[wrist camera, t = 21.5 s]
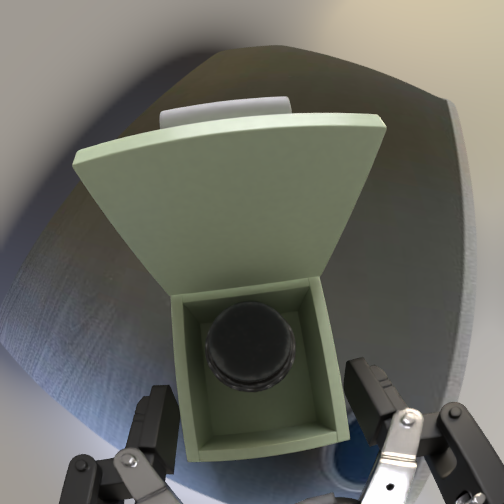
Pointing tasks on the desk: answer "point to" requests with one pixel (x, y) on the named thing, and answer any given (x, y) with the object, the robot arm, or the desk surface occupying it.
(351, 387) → the robot arm
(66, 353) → the desk surface
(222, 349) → the pill bottle
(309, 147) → the green box lid
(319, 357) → the pale green open box
